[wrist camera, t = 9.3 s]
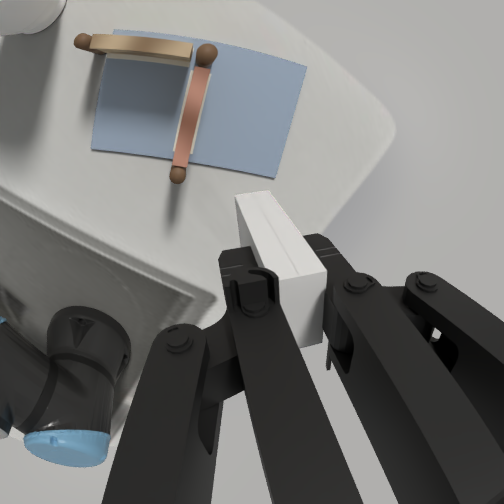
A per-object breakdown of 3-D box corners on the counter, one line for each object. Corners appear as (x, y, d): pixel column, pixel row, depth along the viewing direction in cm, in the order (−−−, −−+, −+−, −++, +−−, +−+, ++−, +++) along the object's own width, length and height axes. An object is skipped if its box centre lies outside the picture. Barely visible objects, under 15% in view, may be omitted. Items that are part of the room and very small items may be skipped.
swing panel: (194, 70, 31) (194, 66, 25) (207, 73, 31) (211, 69, 25) (172, 166, 36) (168, 182, 30) (185, 168, 36) (183, 185, 30)
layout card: (91, 148, 33) (90, 148, 33) (114, 29, 26) (113, 29, 26) (274, 177, 40) (275, 178, 39) (306, 66, 33) (307, 66, 33)
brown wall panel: (93, 56, 27) (71, 50, 21) (97, 40, 27) (76, 31, 20) (210, 69, 31) (215, 64, 25) (214, 54, 30) (220, 45, 24)
